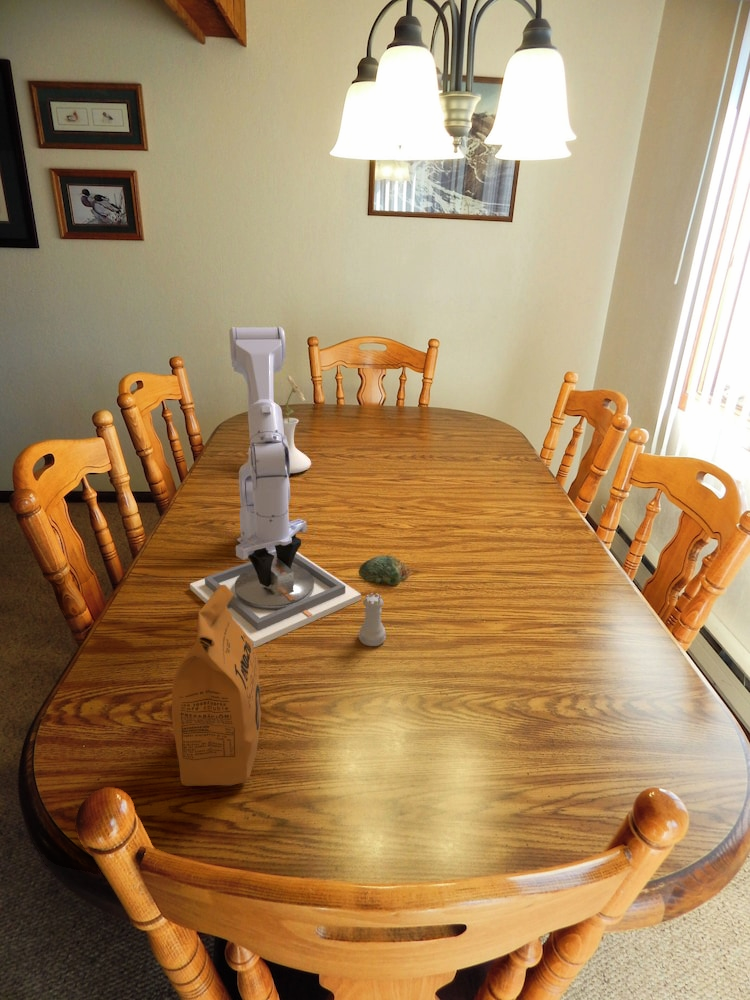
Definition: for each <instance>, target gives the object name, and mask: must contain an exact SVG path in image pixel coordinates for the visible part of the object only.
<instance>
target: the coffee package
mask: <svg viewBox="0 0 750 1000" xmlns="http://www.w3.org/2000/svg"><path fill="white" fill-rule="evenodd" d="M232 597H233V593H232V592H231V591H230V590H229V588H228V587H227V586H226V585H219V587H218V588H217V589H216V591H215V592H214V594H213V595H212V596H211V597H210V599H209V600H208V601H207V602H206V603H205V604H204V605H203V607H202V608H201V609H200V610H199V611H198V614H197V615H198V617H197V631H196V633H197V634H196V638H195V643H194V645H193V646H192V647H191V648H190V649H189V651H188V652H187V654H186V655H185V656H184V658H183V659H182V660H181V661H180V662H179V665H178V667H177V669H176V672H175V674H174V677H173V679H172V681H173V682H172V688H171V691H172V692H171V716H172V718H171V719H172V731H173V735H174V741H175V749H176V753H177V758H178V765H179V778H180V783H181V785H183V786H186V787H192V786H195V787H197V786H199V787H201V786H202V787H204V786H205V787H206V786H234V785H236V784H237V785H238V784H243V783H244V784H245V783H247V782H248V780H249V779H250V777H251V774H252V770H253V767H254V762H255V759H256V755H257V749H258V742H259V735H260V727H261V718H262V711H261V686H260V675H259V674H260V672H259V671H260V669H259V660H258V659H259V658H258V657H257V652H256V651H255V648H254V647H253V644H252V642H251V641H250V639H249V638H248V636H247V635H246V633H245V632H244V631H243V629H242V628H241V627H240V626H239V625H238V624H237V623H236V622H235V621H234V620H233V618H232V616H231V614H230V612H229V610H228V608H227V604H228V603H229V602H230V601H231V599H232Z"/></svg>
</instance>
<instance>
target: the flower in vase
mask: <svg viewBox="0 0 750 1000" xmlns="http://www.w3.org/2000/svg"><path fill="white" fill-rule="evenodd" d="M286 378H287V381H288V383H289V385H290V387H291V391H290V393H289V396H288V398H287V401H286V402H285V406H286V413H285V416H287V417H285V418H283V417H282V418H283V427H284V436H286V439H287V443H288V446H289V450H290V460H291V469H290V474H297V473H301V472H304V471H307V470H308V469H309V468H310V467H311V466H312V461H311V459H310V458H309V457H308V456H307V454H305V453H303V452H302V451H300V450H299V449H297V447H296V445H295V440H294V439H295V437H294V436H295V429H296V426H297V424H298V423H299V421H300V420H299V419H298V418H295V417H290V416H289V415H291V414H292V413H295V411H294V410H293V409H290V407H289V403H290V399H291V397H292V395H293V393H294V394H296V396H297V397H298V399H300V400H301V402H306V399H305V395H304V394H303V393H302V392H301V391H300V387H299V386H298V385H297V384H296V383H295V380H294V378H293V377H291V375H288V376H287V377H286ZM285 466H286V465H285ZM286 468H287V467H286Z"/></svg>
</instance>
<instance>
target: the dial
mask: <svg viewBox="0 0 750 1000" xmlns="http://www.w3.org/2000/svg"><path fill="white" fill-rule="evenodd" d="M268 553H270V554H272V555H274V559H273V562H272V566H271V584H270V586H268V587H266V586H264V585H262V584H260V582H259V579H258V576H257V573H256V570H255V568H254V567H253V568H251V569H249V570H247V571H245V572H244V573H242V574H241V575H240V576H239V577H238V578H237V580H236V582H235V594H236V596H237V598H238V599H239V600H240V601H241V602H243V603H244V604H246V605H248V606H251V607H254V608H259V609H283V608H285V607H287V606H290V605H292V604H295V603H297V602H299V601H302V600H304V599H306V598H308V597H309V596H310V595H311V594H312V592H313V590H314V579H313V576H312V575H311V574H310V573H309V572H308V571H307V570H305V569H304V568H301V567H299V566H296V565H292V566H291V569H290V568H289V567H287V566H286V565H285V564H284V563H283V562H282V561H281V560H280V559H279V558H278V557H277V556H276V555H275V554H273V553H272V552H271V551H268Z"/></svg>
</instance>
